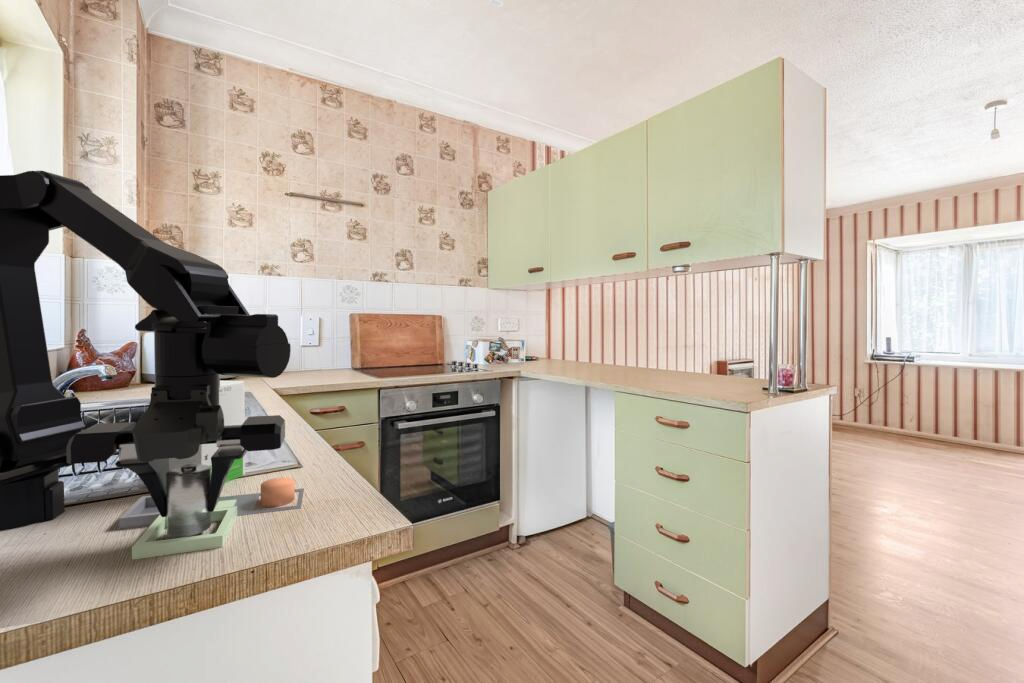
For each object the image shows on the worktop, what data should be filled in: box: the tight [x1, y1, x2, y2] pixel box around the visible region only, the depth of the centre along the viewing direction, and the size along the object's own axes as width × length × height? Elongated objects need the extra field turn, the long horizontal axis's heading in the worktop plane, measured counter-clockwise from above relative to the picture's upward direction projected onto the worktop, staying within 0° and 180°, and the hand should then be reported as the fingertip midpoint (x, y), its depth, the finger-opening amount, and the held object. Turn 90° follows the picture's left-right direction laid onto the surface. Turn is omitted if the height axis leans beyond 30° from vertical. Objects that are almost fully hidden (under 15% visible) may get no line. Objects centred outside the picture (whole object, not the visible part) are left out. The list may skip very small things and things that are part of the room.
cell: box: [166, 464, 212, 538], centre depth 50 cm, size 4×4×7 cm
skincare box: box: [169, 379, 246, 484], centre depth 66 cm, size 8×7×16 cm
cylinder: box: [260, 477, 295, 508], centre depth 60 cm, size 4×4×2 cm
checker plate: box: [115, 488, 305, 531], centre depth 58 cm, size 19×7×2 cm, turn 112°
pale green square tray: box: [131, 506, 238, 561], centre depth 50 cm, size 8×8×2 cm
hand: (189, 513), depth 50 cm, fingers closed on cell, 4 cm apart
